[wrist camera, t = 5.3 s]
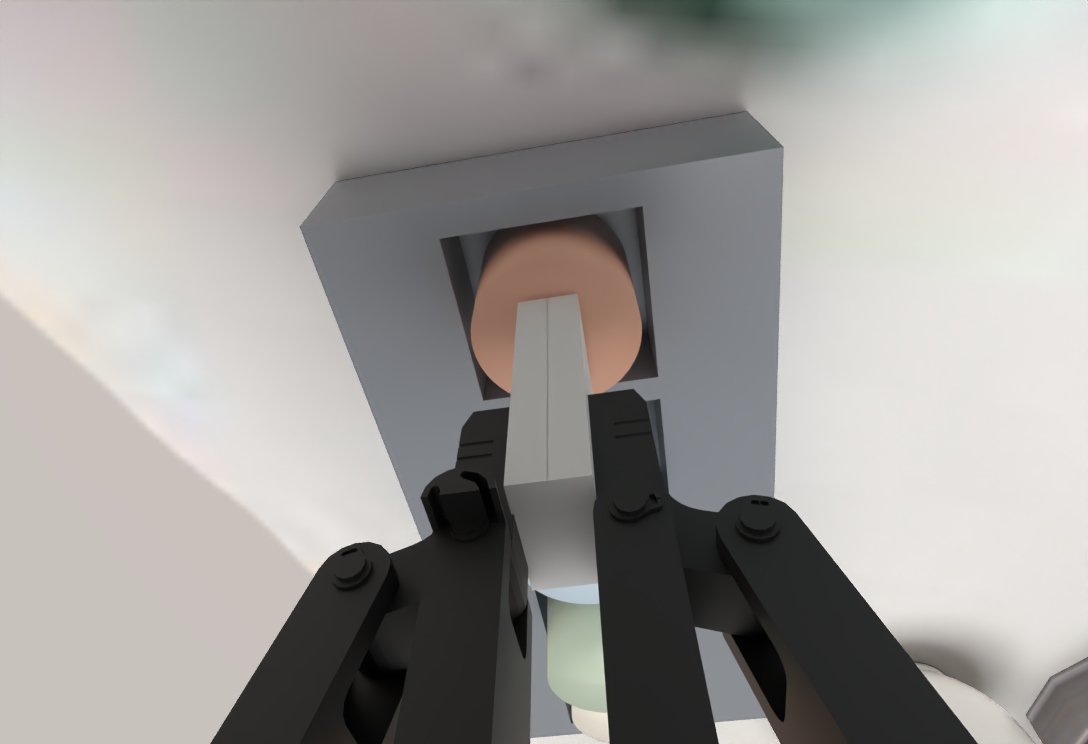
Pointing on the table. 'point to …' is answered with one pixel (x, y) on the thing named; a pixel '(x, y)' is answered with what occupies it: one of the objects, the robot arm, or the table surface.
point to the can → (1063, 707)
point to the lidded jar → (976, 710)
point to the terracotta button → (558, 294)
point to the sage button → (576, 654)
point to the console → (661, 292)
